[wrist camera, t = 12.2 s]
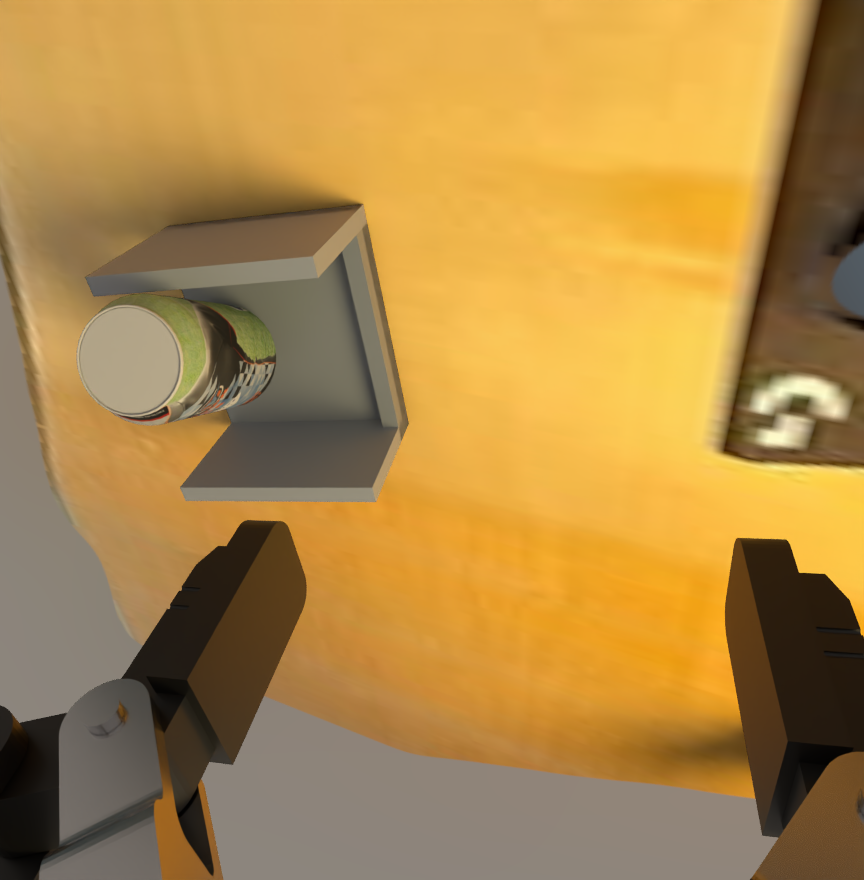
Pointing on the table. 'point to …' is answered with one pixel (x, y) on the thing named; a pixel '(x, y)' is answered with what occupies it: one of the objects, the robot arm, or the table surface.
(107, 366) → the beverage can
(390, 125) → the table surface
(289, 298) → the holder
